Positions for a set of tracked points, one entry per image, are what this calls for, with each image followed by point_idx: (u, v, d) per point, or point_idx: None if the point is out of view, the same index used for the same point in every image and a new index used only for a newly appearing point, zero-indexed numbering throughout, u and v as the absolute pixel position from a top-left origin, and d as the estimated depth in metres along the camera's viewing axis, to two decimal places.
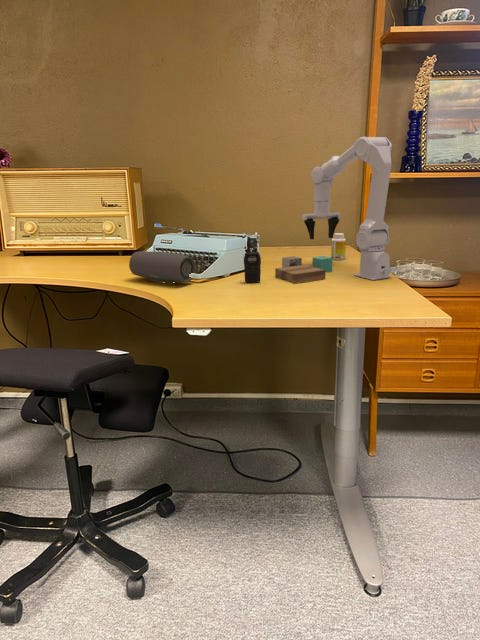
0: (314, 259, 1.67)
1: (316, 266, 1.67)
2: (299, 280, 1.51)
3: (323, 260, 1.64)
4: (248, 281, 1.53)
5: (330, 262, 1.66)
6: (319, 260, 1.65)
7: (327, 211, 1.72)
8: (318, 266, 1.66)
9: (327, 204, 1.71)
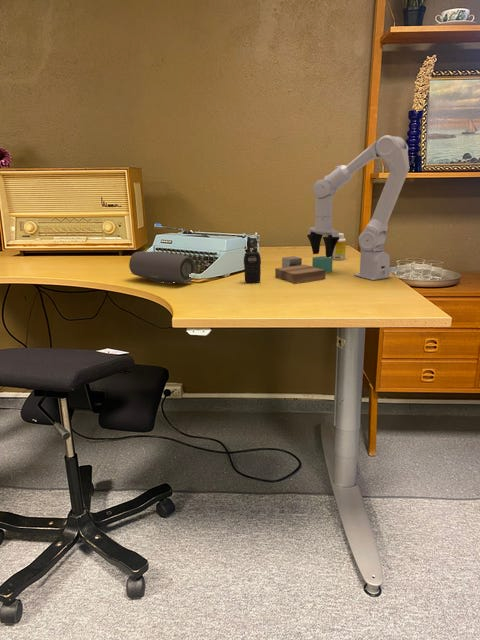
0: (314, 259, 1.67)
1: (316, 266, 1.67)
2: (299, 280, 1.51)
3: (323, 260, 1.64)
4: (248, 281, 1.53)
5: (330, 262, 1.66)
6: (319, 260, 1.65)
7: (318, 227, 1.62)
8: (318, 266, 1.66)
9: (318, 220, 1.61)
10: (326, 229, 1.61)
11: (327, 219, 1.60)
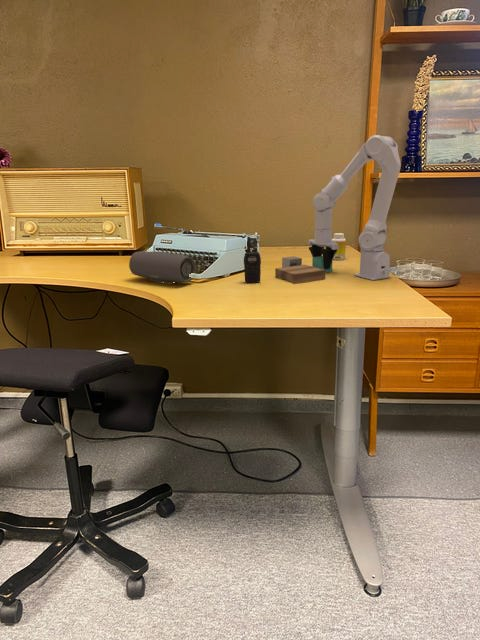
0: (314, 259, 1.67)
1: (316, 266, 1.67)
2: (299, 280, 1.51)
3: None
4: (248, 281, 1.53)
5: None
6: (319, 260, 1.65)
7: (318, 239, 1.63)
8: (318, 266, 1.66)
9: (318, 232, 1.62)
10: (326, 241, 1.63)
11: (327, 232, 1.62)
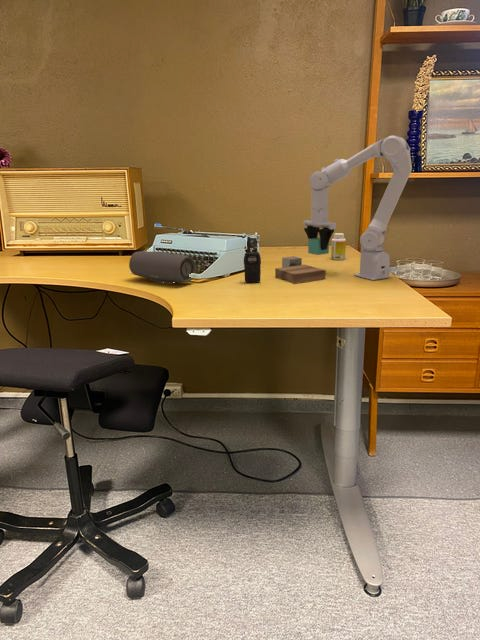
0: (310, 240, 1.63)
1: (312, 247, 1.63)
2: (299, 280, 1.51)
3: None
4: (248, 281, 1.53)
5: None
6: (316, 241, 1.61)
7: (315, 220, 1.59)
8: (315, 247, 1.62)
9: (315, 212, 1.58)
10: (323, 222, 1.59)
11: (324, 211, 1.58)
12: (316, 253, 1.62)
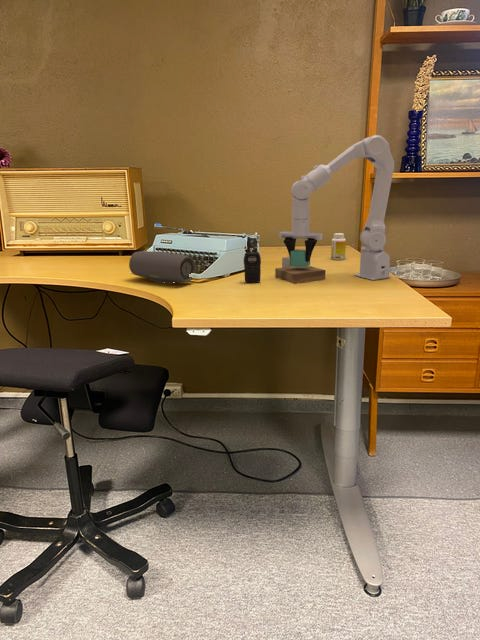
0: (293, 253, 1.55)
1: (297, 260, 1.55)
2: (299, 280, 1.51)
3: (305, 253, 1.54)
4: (248, 281, 1.53)
5: None
6: (302, 253, 1.53)
7: (300, 231, 1.51)
8: (300, 260, 1.54)
9: (300, 223, 1.50)
10: (307, 232, 1.52)
11: (308, 222, 1.51)
12: (302, 265, 1.55)
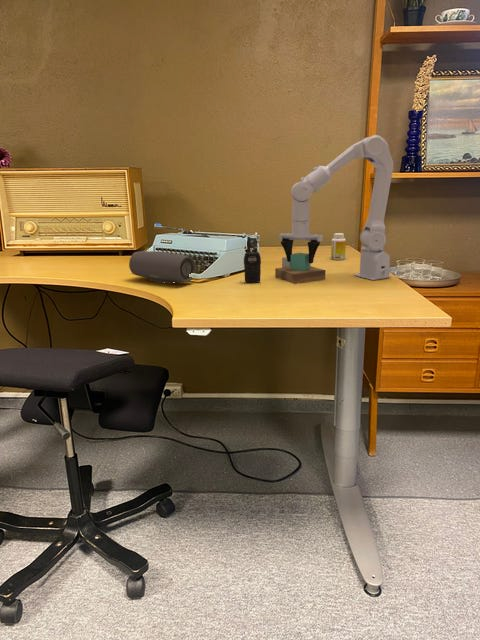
0: (293, 256, 1.55)
1: (297, 264, 1.55)
2: (299, 280, 1.51)
3: (306, 256, 1.54)
4: (248, 281, 1.53)
5: None
6: (302, 257, 1.54)
7: (300, 232, 1.51)
8: (300, 263, 1.55)
9: (300, 224, 1.51)
10: (307, 234, 1.52)
11: (308, 223, 1.51)
12: (302, 269, 1.55)
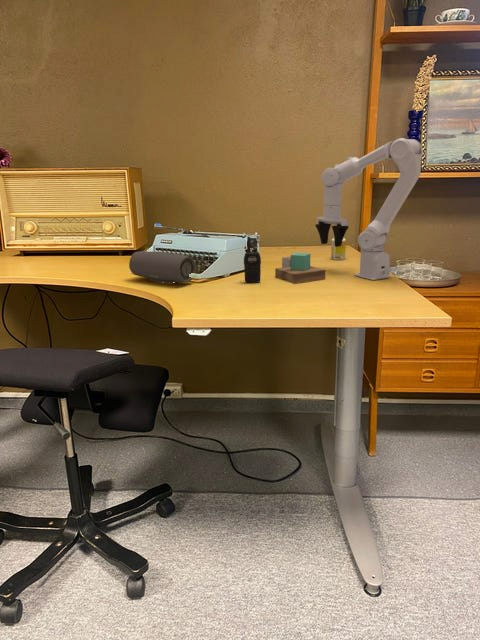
0: (293, 256, 1.55)
1: (297, 264, 1.55)
2: (299, 280, 1.51)
3: (306, 256, 1.54)
4: (248, 281, 1.53)
5: (309, 258, 1.57)
6: (302, 257, 1.54)
7: (327, 216, 1.60)
8: (300, 263, 1.55)
9: (327, 208, 1.59)
10: (335, 218, 1.59)
11: (336, 208, 1.59)
12: (302, 269, 1.55)
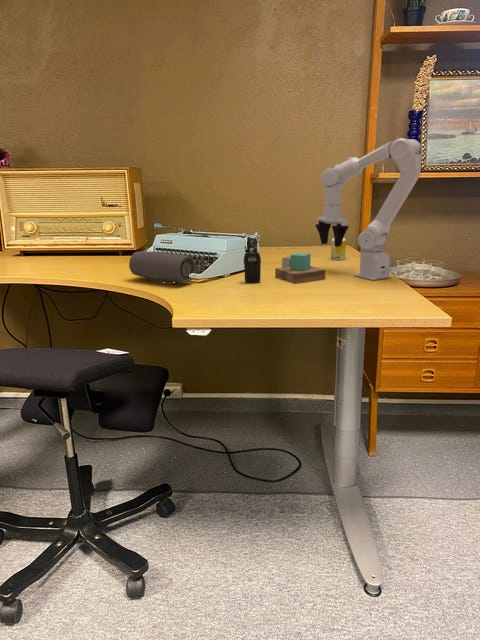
0: (293, 256, 1.55)
1: (297, 264, 1.55)
2: (299, 280, 1.51)
3: (306, 256, 1.54)
4: (248, 281, 1.53)
5: (309, 258, 1.57)
6: (302, 257, 1.54)
7: (327, 216, 1.60)
8: (300, 263, 1.55)
9: (327, 208, 1.59)
10: (335, 218, 1.59)
11: (336, 208, 1.59)
12: (302, 269, 1.55)
